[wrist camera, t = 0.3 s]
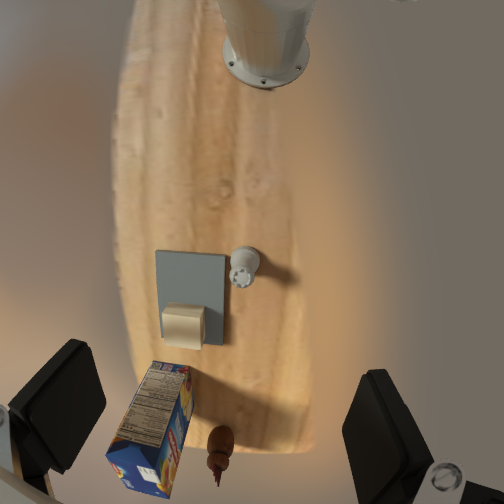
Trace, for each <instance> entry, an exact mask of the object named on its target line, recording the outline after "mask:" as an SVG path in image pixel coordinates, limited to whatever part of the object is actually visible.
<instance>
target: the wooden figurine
mask: <svg viewBox="0 0 504 504" xmlns="http://www.w3.org/2000/svg"><path fill="white" fill-rule="evenodd" d="M233 448H234V436H233V433H232V431H231V430H230V429H229V428H227V427H224V426H219V427H215V428H214V429H213V430H212V431H211V433H210V435H209V438H208V444H207V450H208V453H209V456H208V458H207V466H208V467H209V468H210V469H211V470H212V471H213V472H214V474H213V475H214V476H215V482H216V481H217V484H218V485H217V486H218V487H219V483H220V479H221V474H222V471H225V470H226V469H227V468H228V465H229V459H228V458H229V457H230V456H231V454H232V452H233Z"/></svg>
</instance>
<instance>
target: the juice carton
mask: <svg viewBox="0 0 504 504" xmlns="http://www.w3.org/2000/svg"><path fill="white" fill-rule="evenodd" d="M193 408H194V401H193V393H192V384H191V375H190V366H186V365H179V364H172V363H165V362H159V361H152V363H151V365H150V367H149V369H148V371H147V373H146V375H145V377H144V379H143V381H142V382H141V384H140V386H139V388H138V390H137V392H136V394H135V396H134V398H133V400H132V402H131V404H130V406H129V408H128V410H127V412H126V414H125V416H124V418H123V420H122V422H121V424H120V426H119V428H118V430H117V432H116V434H115V436H114V438H113V441H112V442H111V444H110V447H109V449H108V451H107V453H106V455H105V456H106V457H107V459H108V460H109V462H110V464H111V465H112V467H113V468H114V470H115V471H116V473H117V474H118V476H119V477H120V479H121V480H122V482H123V483H124V484H125V486H126V487H127V488H128V489H132V490H135V491H138V492H142V493H145V494H149V495H153V496H158V497H161V498H166V499H169V498H170V494H171V490H172V487H173V483H174V479H175V475H176V471H177V468H178V464H179V460H180V456H181V452H182V449H183V445H184V441H185V438H186V434H187V430H188V426H189V423H190V419H191V415H192V412H193Z"/></svg>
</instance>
